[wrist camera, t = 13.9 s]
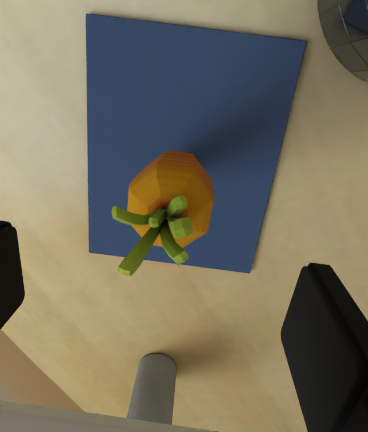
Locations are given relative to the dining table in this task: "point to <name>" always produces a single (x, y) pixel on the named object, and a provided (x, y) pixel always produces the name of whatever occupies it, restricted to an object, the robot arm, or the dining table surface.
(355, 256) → the dining table surface
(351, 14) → the pot
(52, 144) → the dining table surface
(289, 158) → the dining table surface
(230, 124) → the towel
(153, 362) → the grey cylindrical tube
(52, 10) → the dining table surface
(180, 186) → the carrot
